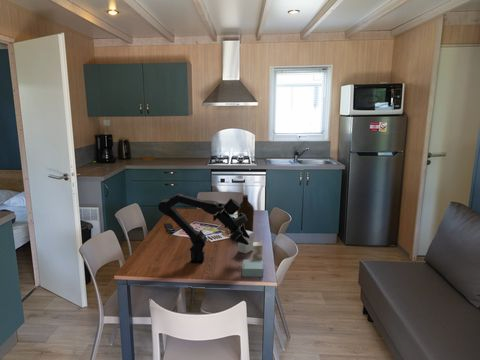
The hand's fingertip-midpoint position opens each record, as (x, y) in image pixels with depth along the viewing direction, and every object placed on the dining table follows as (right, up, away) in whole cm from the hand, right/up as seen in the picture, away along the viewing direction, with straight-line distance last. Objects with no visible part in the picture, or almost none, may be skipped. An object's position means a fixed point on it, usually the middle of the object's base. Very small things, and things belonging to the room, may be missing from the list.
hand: (248, 241), depth 177 cm
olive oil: (-1, -3, +47) cm, 47 cm away
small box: (-1, -9, +17) cm, 19 cm away
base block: (+2, -13, -9) cm, 16 cm away
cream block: (+5, -11, +2) cm, 12 cm away
